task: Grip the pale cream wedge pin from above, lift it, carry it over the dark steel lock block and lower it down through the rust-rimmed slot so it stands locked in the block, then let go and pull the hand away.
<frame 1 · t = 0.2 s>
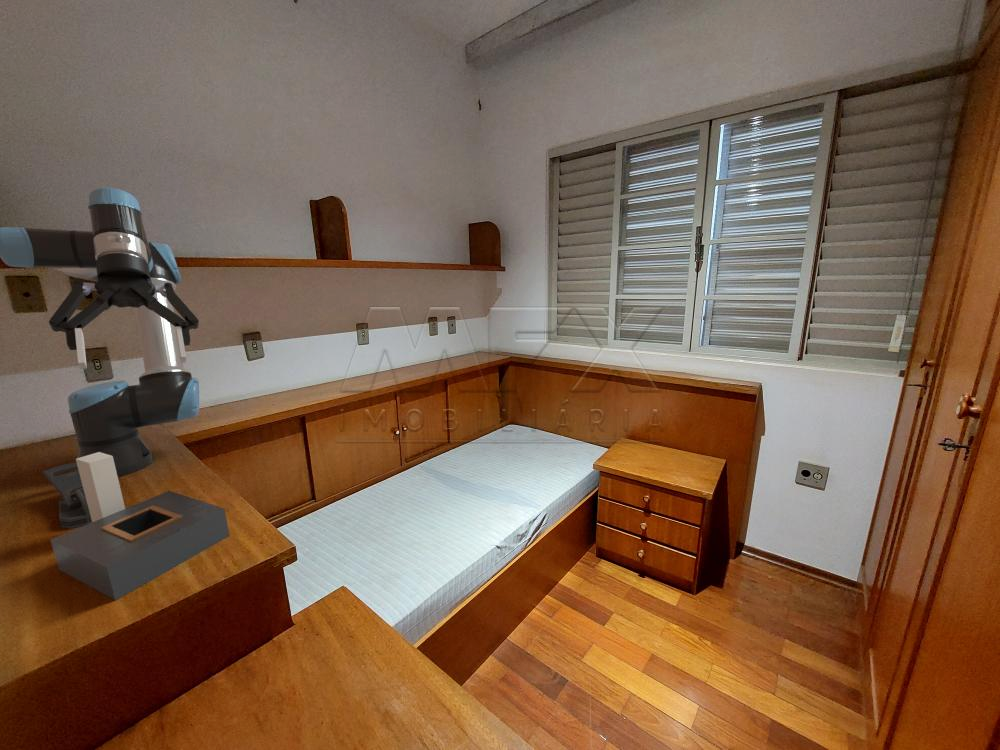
hand: (136, 362, 73), 35 cm above the worktop, tool tilted 30°, fingers open, 13 cm apart
lock block: (149, 551, 74), on the worktop
zipper pull: (83, 505, 91), on the worktop
wedge pin: (112, 530, 81), on the worktop
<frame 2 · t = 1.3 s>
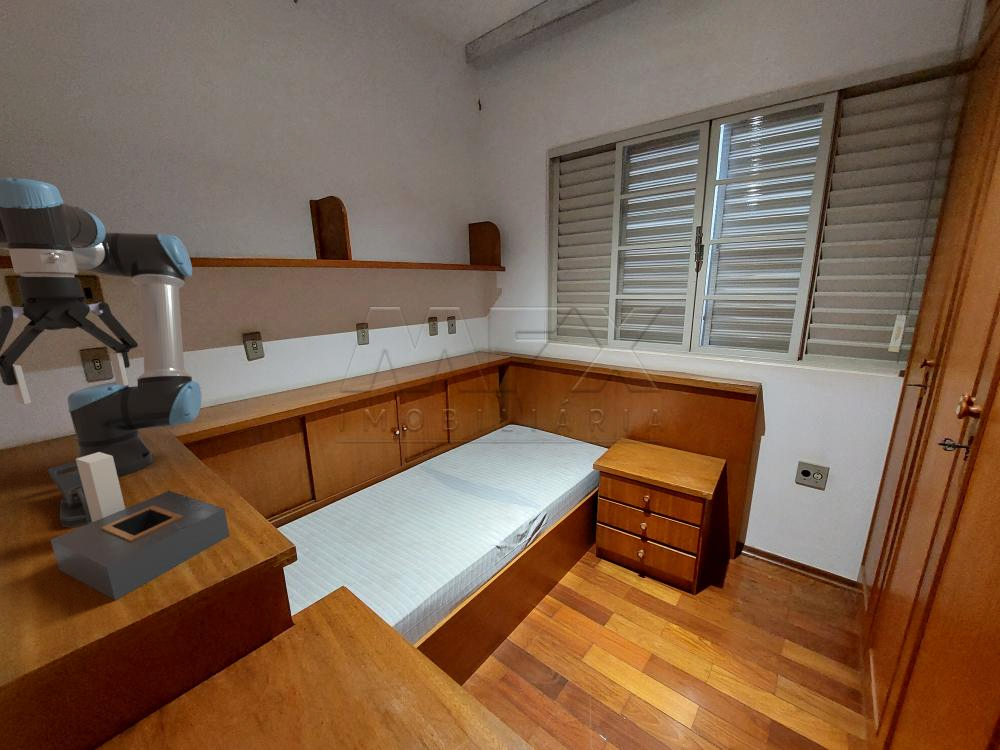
hand: (77, 393, 75), 29 cm above the worktop, tool pointing down, fingers open, 13 cm apart
nothing on the worktop moved.
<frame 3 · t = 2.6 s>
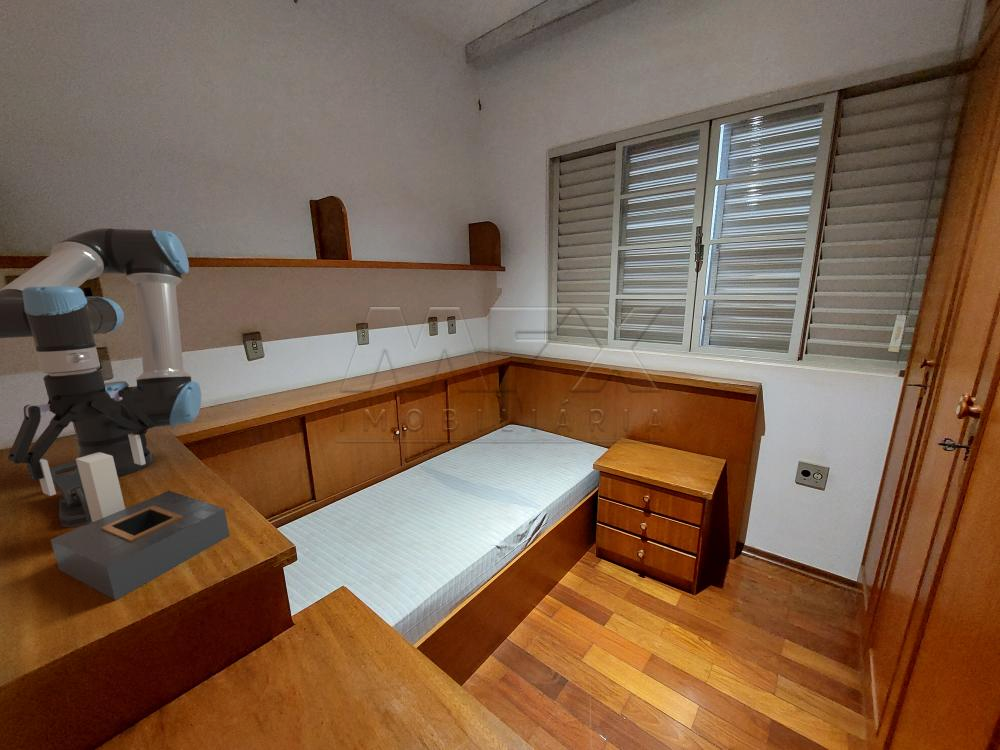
hand: (98, 477, 78), 12 cm above the worktop, tool pointing down, fingers open, 13 cm apart
nothing on the worktop moved.
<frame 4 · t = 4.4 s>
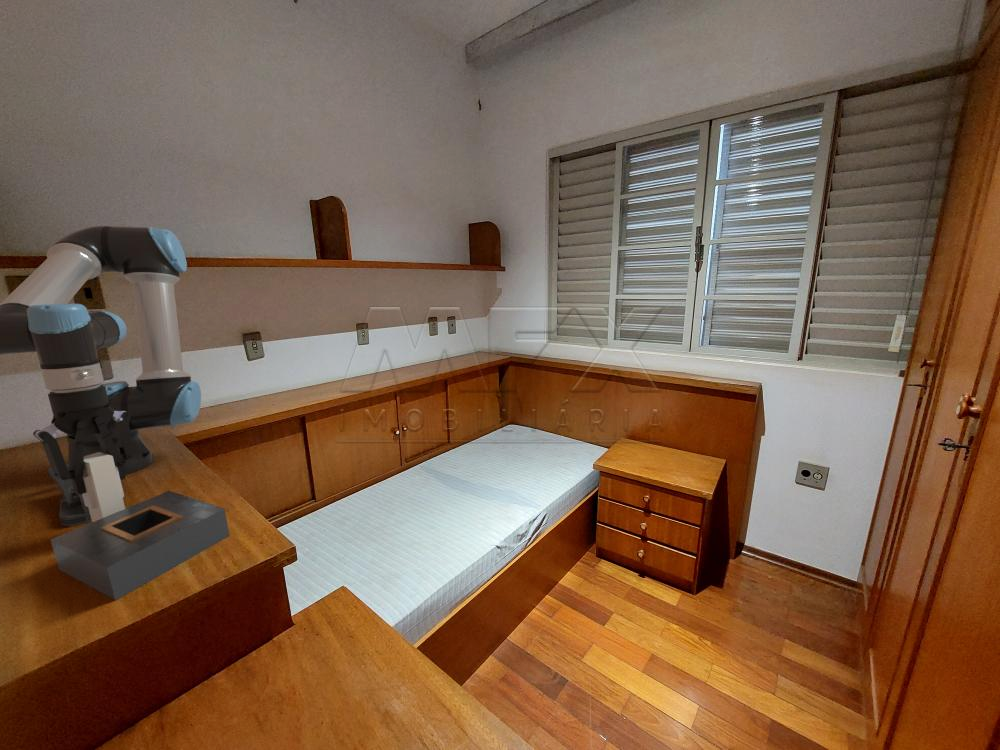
hand: (105, 500, 80), 7 cm above the worktop, tool pointing down, fingers closed on wedge pin, 3 cm apart
wedge pin: (112, 530, 81), on the worktop, touching gripper
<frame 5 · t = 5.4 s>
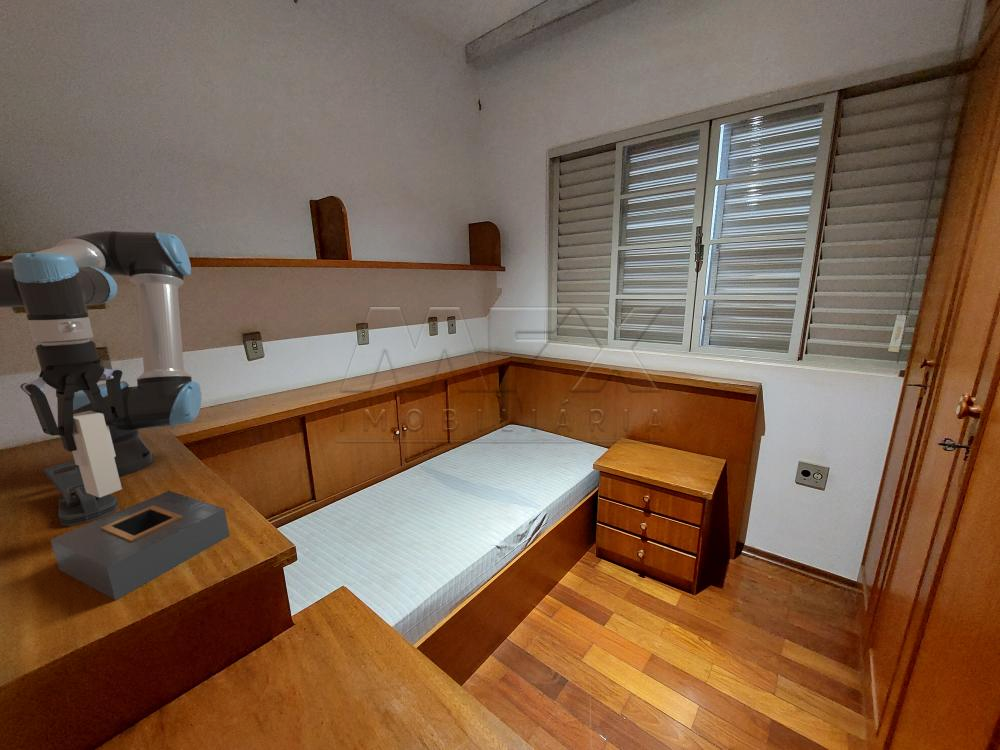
hand: (96, 460, 78), 15 cm above the worktop, tool pointing down, fingers closed on wedge pin, 3 cm apart
wedge pin: (104, 490, 80), point 9 cm above the worktop, touching gripper
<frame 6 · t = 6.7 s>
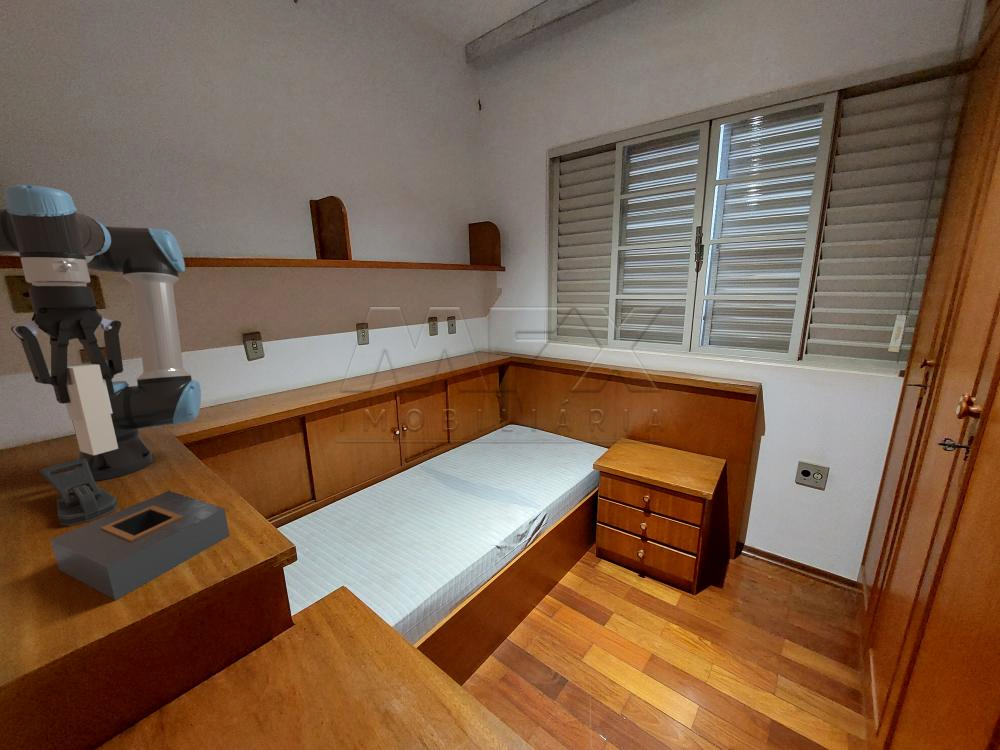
hand: (91, 416, 73), 25 cm above the worktop, tool pointing down, fingers closed on wedge pin, 3 cm apart
wedge pin: (99, 449, 74), point 19 cm above the worktop, touching gripper
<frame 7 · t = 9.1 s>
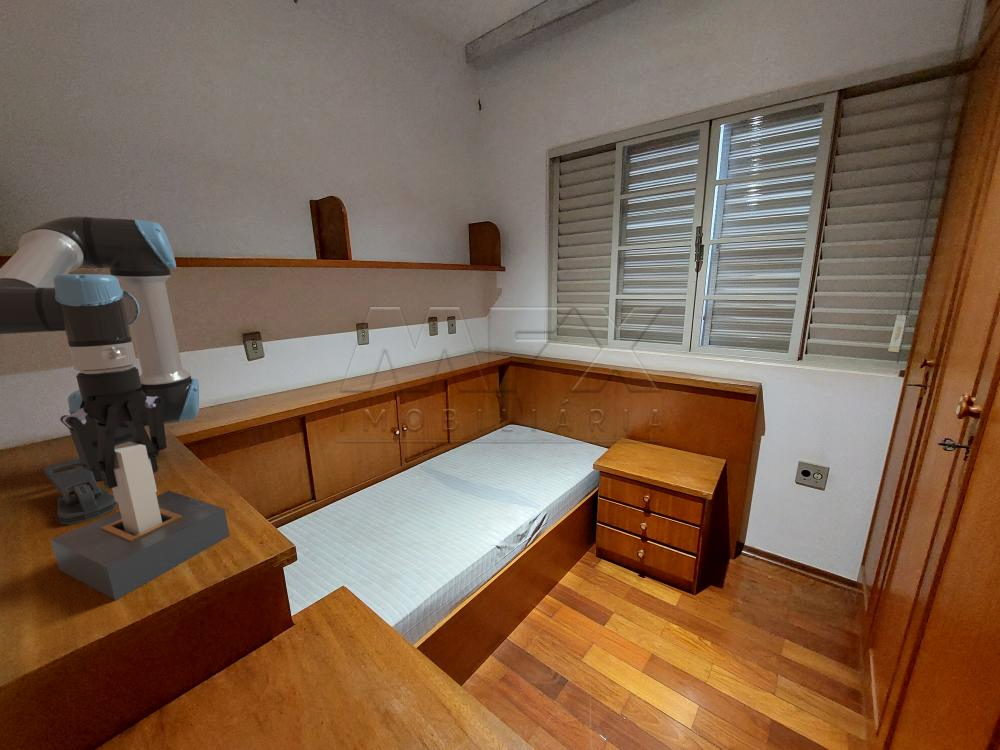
hand: (136, 496, 72), 12 cm above the worktop, tool pointing down, fingers closed on wedge pin, 3 cm apart
wedge pin: (144, 528, 73), point 5 cm above the worktop, touching gripper
when the fingers open (8 cm above the worktop, at t = 10.4 s): wedge pin drops 1 cm, resting in lock block.
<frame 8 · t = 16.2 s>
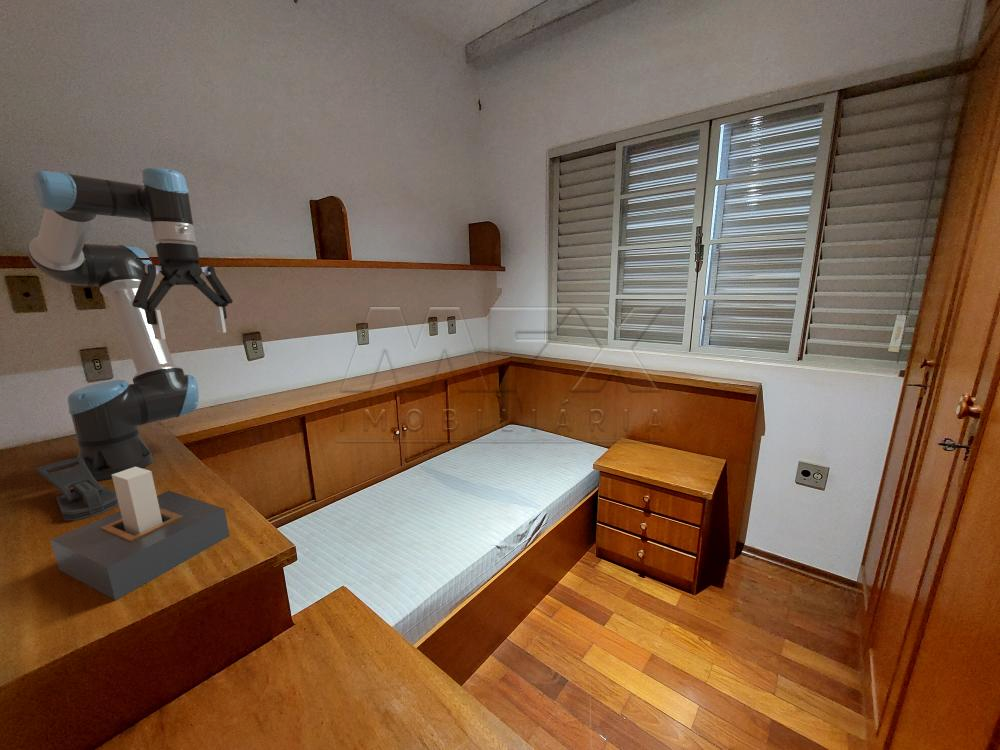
hand: (192, 335, 96), 37 cm above the worktop, tool pointing down, fingers open, 13 cm apart
zipper pull: (80, 500, 93), on the worktop
wedge pin: (149, 551, 75), resting in lock block
at the end: wedge pin 0.0 cm off-centre on the lock block, point 0.0 cm above the lock block's base; wedge pin tilted 0°; the gripper is holding nothing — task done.
